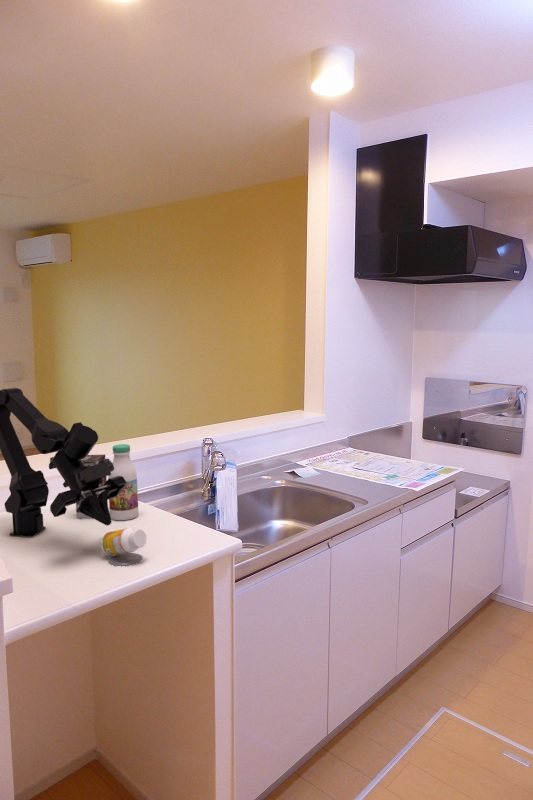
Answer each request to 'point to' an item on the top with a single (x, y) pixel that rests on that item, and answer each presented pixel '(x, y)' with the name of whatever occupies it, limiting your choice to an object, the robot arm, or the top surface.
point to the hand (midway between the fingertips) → (109, 524)
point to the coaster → (125, 559)
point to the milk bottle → (128, 497)
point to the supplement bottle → (123, 541)
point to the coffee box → (91, 461)
